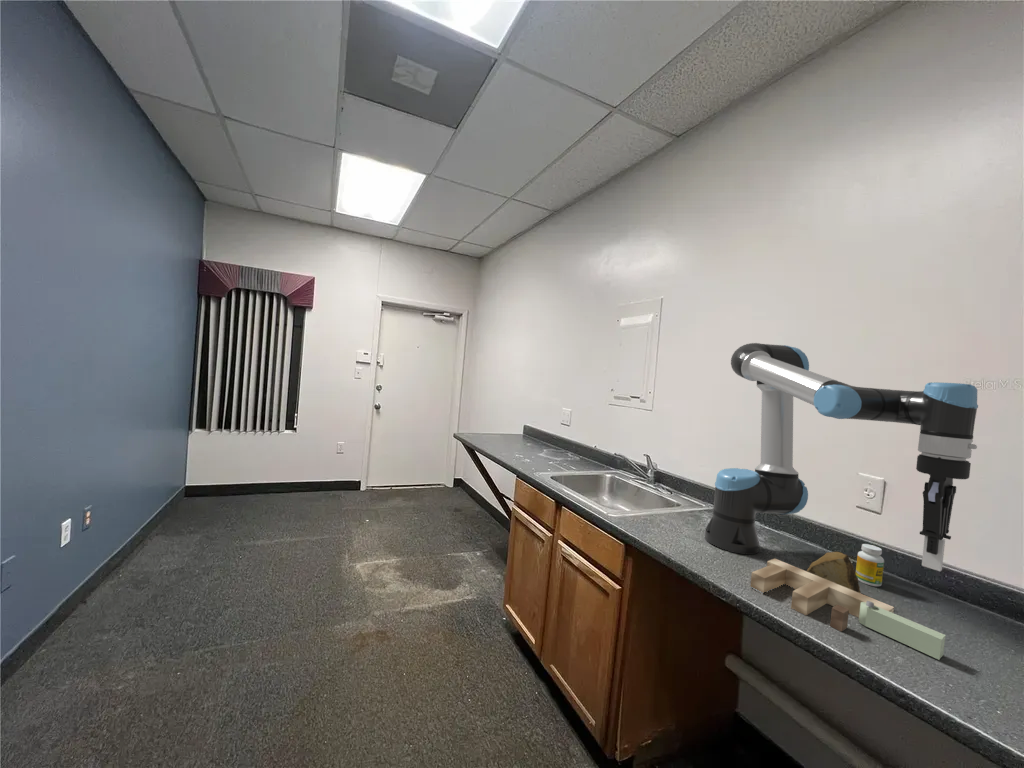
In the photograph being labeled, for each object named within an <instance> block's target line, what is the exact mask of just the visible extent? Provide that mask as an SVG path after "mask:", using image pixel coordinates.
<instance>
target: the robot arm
mask: <svg viewBox="0 0 1024 768" xmlns="http://www.w3.org/2000/svg"><path fill="white" fill-rule="evenodd" d="M730 365H731V369H732V371H733V372H734V373H735V374H736V375H737V376H739V377H741V378H743V379H745V380H747V381H750V382H756V388H758V389H759V390H761V413H760V415H761V419H760V421H761V422H760V423H761V425H760V432H761V433H760V464H758V466H756V467H755V468H754V470H751V469H747V468H738V467H735V468H734V467H733V468H732V467H731V468H724V469H721V470H720V471H719V472H717V475H716V479H715V483H714V487H715V488H714V490H715V491H714V498H713V508H712V515H711V517H710V519H709V521H708V524H707V526H706V528H705V530H704V536H705V537H704V540H705V541H706V542H707V543H709V542H710V543H709V544H711V545H712V544H713V545H712V546H714V545H715V546H714V547H716V546H717V548H719V547H720V548H719V549H721V548H722V550H724V549H725V550H724V551H727V550H728V551H727V552H731V553H736V554H740V555H741V554H742V555H754V554H757V553H759V551H760V541H759V537H758V533H757V529H756V516H757V515H756V514H758V513H759V514H778V515H793V514H797V513H799V512H800V511H802V510H803V509H804V508H805V507H806V505H807V503H808V499H809V491H808V488H807V486H805V485H806V484H805V482H804V481H803V480H802V479H800V478H799V472H798V471H797V470H796V469H795V468H794V467H793V463H794V462H793V460H794V459H793V457H794V455H793V453H794V398H797V399H798V400H801V401H803V402H805V403H808V404H809V405H812V406H814V408H815V409H816V410H817V412H818V413H819V414H820V415H822V416H824V417H829V418H834V419H838V420H861V421H863V420H864V421H873V422H885V423H898V424H899V423H900V424H908V425H916V426H920V428H919V436H918V437H919V438H918V446H917V451H918V452H919V453H920V454H918V455H917V457H916V467H915V469H916V471H917V472H919V473H921V474H925V475H929V478H928V482H927V481H925V482H924V486H923V487H924V488H923V489H924V490H923V491H922V496H923V497H922V498H923V506H922V507H923V510H922V513H923V514H922V515H923V516H922V530H921V531H919V535H920V536H921V535H922V536H924V540H923V547H922V548H923V549H922V550H923V551H922V556H921V557H922V559H921V566H922V567H924V568H928V569H932V570H934V571H938V572H941V571H943V565H944V564H943V563H944V562H943V561H944V555H945V554H944V553H945V547H946V540H951V539H952V536H951V535H948V534H949V533H950V523H951V518H952V511H953V506H954V505H953V504H954V500H955V499H954V498H955V495H956V494H957V486H956V485H954V480H968V479H969V478H970V475H971V474H970V473H971V462H970V461H969V460H968V459H971V458H972V452H973V451H972V450H976V449H978V446H977V444H976V443H973V441H974V440H973V439H974V431H975V430H974V429H975V422H976V416H977V410H978V408H979V405H978V389H977V387H976V386H975V385H973V384H970V383H969V384H968V383H961V382H960V383H959V382H956V383H955V382H938V381H937V382H927V383H925V386H924V389H923V391H922V390H921V391H917V390H916V391H915V390H903V389H902V390H900V389H890V388H889V389H888V388H887V389H885V388H874V387H863V386H855V385H850V384H848V383H845V382H841V381H838V380H837V379H833V378H830V377H828V376H825V375H823V374H820V373H816V372H813V371H810V361H809V359H808V356H807V355H806V353H805V352H803V351H802V350H801V349H800V348H798V347H796V346H790V345H782V344H769V343H759V342H751V343H746V344H743V345H741V346H739V347H738V348H737V349H736V350H735V351H733V353H732V355H731V359H730ZM972 443H973V444H972Z"/></svg>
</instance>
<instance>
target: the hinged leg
mask: <svg viewBox="0 0 1024 768" xmlns="http://www.w3.org/2000/svg"><path fill="white" fill-rule="evenodd" d="M858 623H860V624H861V625H863V626H864V627H866V628H869V629H871V630H873V631H875V632H877V633H879V634H882V635H884V636H887V638H890V639H893V640H895V641H897V642H899V643H901V644H904V645H905V646H909V647H910V648H912V649H914V650H915V651H916V650H917V651H919V652H921V653H923V654H924V655H927V656H930V657H931V658H934V659H936V660H938V661H940V659H941V658H942V657H944V652H945V642H946V634H944V633H941V632H939V631H937V630H935V629H932V628H929V627H927V626H925V625H923V624H921V623H917V622H916V621H913V620H911V619H908V618H906V617H903V616H901V615H899V614H896V613H894V612H893V613H892V612H889V611H887V610H884V609H882V608H880V607H877V606H875V605H874V603H873V602H870V601H867V602H861V605H860V614H859V618H858Z"/></svg>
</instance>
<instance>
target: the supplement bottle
mask: <svg viewBox="0 0 1024 768" xmlns="http://www.w3.org/2000/svg"><path fill="white" fill-rule="evenodd" d="M860 549H861V550H860V551H858V552H857V557H856V566H855V574H856V576H857V578H858V582H860V583H863V584H865V585H868V586H871V587H881V586H882V584H883V576H884V575H883V574H884V567H885V559H884V558H883V557H882V556H881V555H882V554H883V550H882V548H880V547H878V546H876V545H874V544H873V545H872V544H868V543H862V544H861V548H860Z"/></svg>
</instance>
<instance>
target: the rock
mask: <svg viewBox="0 0 1024 768" xmlns="http://www.w3.org/2000/svg"><path fill="white" fill-rule="evenodd" d="M806 571H807V572H809V573H812V574H814V575H817V576H819V577H821V578H824V579H826V580H829V581H831V582H834V583H836V584H839V585H841V586H844V587H846V588H848V589H851V590H853V591H856V592H858V593H861V590H860V584H859V580H858V578H857V576H856V574H855V573H856V570H855V568H854V565H853V563H852V561H851V559H850V556H849V555H848V554H844V553H843V552H841V551H830V552H829V551H827V552H825V553H824V555H822V556H821V557H819V558H818V559H816V560H814V561H812V562H811V563H810V565H809V567H808V568H807V569H806ZM861 594H862V593H861Z"/></svg>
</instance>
